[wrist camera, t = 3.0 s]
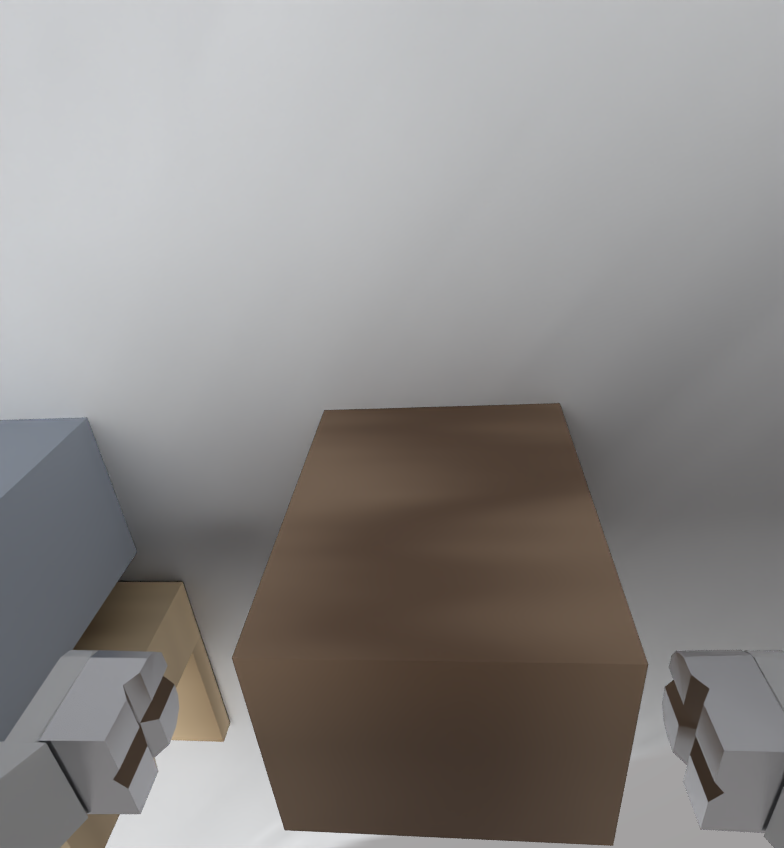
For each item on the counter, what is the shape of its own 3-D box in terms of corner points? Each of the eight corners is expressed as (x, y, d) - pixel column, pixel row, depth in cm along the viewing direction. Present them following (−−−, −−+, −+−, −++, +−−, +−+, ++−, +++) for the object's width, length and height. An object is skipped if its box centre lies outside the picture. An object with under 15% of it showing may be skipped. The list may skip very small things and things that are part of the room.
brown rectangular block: (559, 402, 13) (648, 663, 7) (549, 549, 15) (612, 845, 9) (324, 409, 13) (231, 657, 8) (345, 550, 15) (285, 830, 10)
